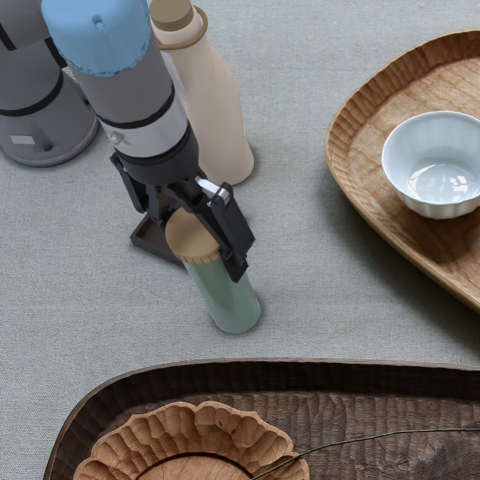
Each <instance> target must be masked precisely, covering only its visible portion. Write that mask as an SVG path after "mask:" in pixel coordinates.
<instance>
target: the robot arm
mask: <svg viewBox="0 0 480 480" xmlns="http://www.w3.org/2000/svg"><path fill="white" fill-rule="evenodd" d="M150 21H151V16H150V14H149V4H148V0H0V147H1V149H2V150H3V152H5V154H6V155H7V156H8V157H9V158H10V159H12V161H15V162H17V163H19V164H21V165H24V166H27V167H34V168H35V167H36V168H42V167H45V168H46V167H52V166H55V165H59V164H63V163H64V162H68V161H70V160H71V159H73V158H74V157H76V156H77V155H79V154H81V153H82V151H84V150H85V149H86V148H87V147H88V146H89V145H90V144H91V143H92V141H93V140H94V138H95V136H96V134H97V133H98V129H99V125H100V124H101V126H102V128H103V130H104V132H105V133H106V135H107V137H108V141H109V142H110V144H112V147H113V149H114V151H113V153H112V154H111V155H110V157H109V161H110V162H111V164H112V165H113V166H114V167H115V169H116V170H117V171H118V173H119V175H120V178H121V180H122V182H123V184H124V186H125V189H126V192H127V193H128V196H129V198H130V201H131V203H132V205H133V207H134V209H135V210H136V212H138V213H140V214H142V215H145V213H146V214H147V213H149V214H150V218H151V219H152V220H153V221H154V222H156V223H157V224H158V225H159V227H160V229H161V231H162V232H163V233H164V235H165V229H166V225H167V222H168V220H169V219H170V217H171V216H172V215H173V213H175V212H176V211H177V209H175V208H172V209H171V210H170V212H169V210H168V209H169V208H170V206H171V205H172V204H173V202H174V201H172V200H171V197H172V198H175V199H176V200H177V201H178V202H179V204H180V205H181V206H182V207H183V209H184V210H185V211H186V212H187V213H191V214H194V215H195V216H196V217H197V219H198V220H199V221H200V222H201V224H202V225H203V226H204V227H205V228H206V230H207V231H208V232H209V233H210V234H211V236H212V237H213V238H214V239H215V241H216V242H217V243H218V244H219V245H220V249H219V250H218V252H219V254H220V256H221V259H222V261H223V263H224V265H225V267H226V269H227V272H228V274H229V276H230V278H231V280H232V281H233V282H235V283H238V282H239V280H240V279H241V277H242V276H243V274H244V273H245V271H246V272H247V270H248V268H249V267H250V265H249V262H248V260H247V258H248V252H249V250H250V249H251V248H252V246H253V245H254V243H255V242H256V237H255V235H254V233H253V231H252V228H251V227H250V225H249V223H248V221H247V219H246V218H245V216H244V213H243V212H242V210H241V208H240V206H239V204H238V202H237V200H236V198H235V193H234V187H233V185H230V184H229V183H227V182H223V183H222V184H221V185H217V184H214V183H212V182H211V181H209V180H208V178H207V175H206V174H205V172H204V171H203V170H202V169H201V168H200V166H199V145H198V141H197V139H196V136H195V134H194V132H193V129H192V127H191V124H190V122H189V120H188V118H187V114H186V110H185V108H184V106H183V103H182V101H181V99H180V96H179V94H178V92H177V89H176V87H175V85H174V82H173V80H172V79H171V76H170V74H169V73H168V70H167V68H166V65H165V62H164V60H163V57H162V54H161V52H160V49H159V46H158V44H157V41H156V39H155V36H154V34H153V31H152V29H151V26H150ZM65 68H69V70H70V71H71V73H72V75H73V76H74V78H75V79H74V78H73V77H72V76H70V75H69V74H68V73H67V72H66V71H64V69H65Z"/></svg>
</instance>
